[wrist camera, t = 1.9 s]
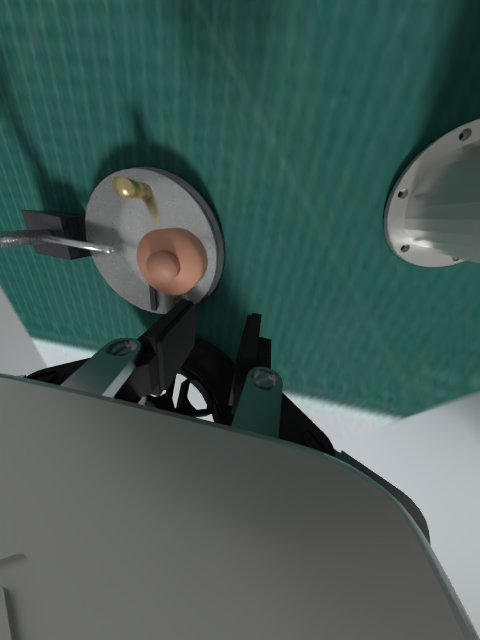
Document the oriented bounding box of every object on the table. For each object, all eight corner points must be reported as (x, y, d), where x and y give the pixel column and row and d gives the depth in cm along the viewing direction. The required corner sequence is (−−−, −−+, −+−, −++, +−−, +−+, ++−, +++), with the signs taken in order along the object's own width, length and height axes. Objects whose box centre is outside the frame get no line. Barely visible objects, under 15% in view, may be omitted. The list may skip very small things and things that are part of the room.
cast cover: (209, 233, 22) (194, 236, 18) (206, 290, 26) (192, 305, 21) (151, 222, 23) (122, 224, 18) (155, 280, 26) (131, 293, 22)
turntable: (225, 183, 21) (211, 173, 16) (213, 319, 29) (201, 339, 24) (80, 160, 22) (27, 145, 17) (107, 298, 30) (76, 313, 26)
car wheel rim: (151, 346, 36) (34, 470, 18) (184, 315, 32) (73, 438, 14) (226, 409, 41) (191, 554, 23) (264, 390, 37) (255, 549, 19)
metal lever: (136, 225, 26) (-73, 238, 10) (140, 263, 28) (-26, 319, 13) (54, 211, 27) (-258, 202, 11) (64, 248, 29) (-180, 285, 14)
